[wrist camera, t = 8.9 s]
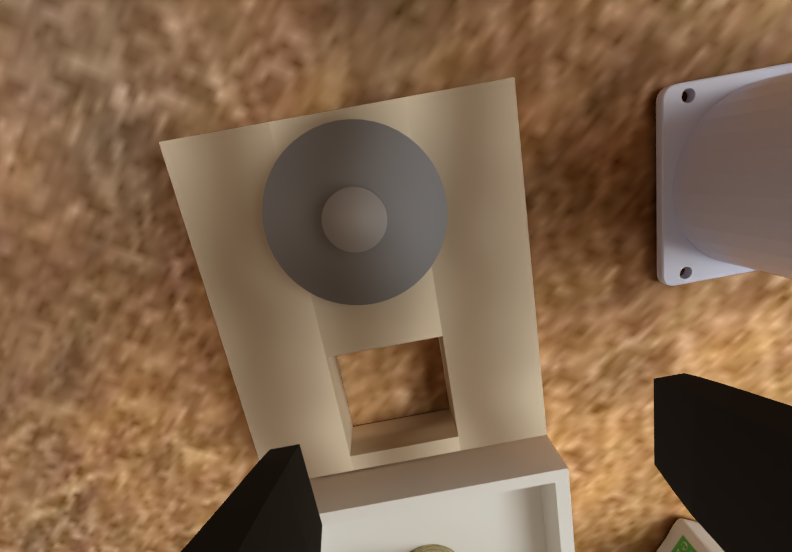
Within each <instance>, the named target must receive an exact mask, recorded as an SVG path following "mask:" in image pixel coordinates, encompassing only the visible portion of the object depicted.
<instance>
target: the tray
mask: <svg viewBox="0 0 792 552" xmlns="http://www.w3.org/2000/svg"><path fill="white" fill-rule="evenodd" d="M309 479H310V483H311V487H312V490H313V494H314V497H315V501H316V504H317V508H318V511H319V515H320V519H321V522H322V540H321V552H410V551H412V550H413V549H415V548H417V547H420V546H423V545H429V544H438V545H443V546H446V547H448V548H450V549H452V550H453V551H455V552H575V549H574V536H573V523H572V510H571V496H570V483H569V470H568V467H567V465H566V464H565V462H564V461H563V459H562V458H561V456H560V455H559V453H558V452H557V450H556V448H555V447H554V445H553V444H552V442H551V441H550V439H549V438H548V436H547V435H543V436H537V437H532V438H527V439H521V440H516V441H510V442H505V443H499V444H494V445H489V446H483V447H478V448H472V449H467V450H461V451H456V452H451V453H445V454H440V455H434V456H429V457H423V458H418V459H412V460H407V461H402V462H396V463H391V464H385V465H380V466H374V467H369V468H364V469H358V470H353V471H347V472H342V473H336V474H331V475H326V476H320V477H315V478H309Z"/></svg>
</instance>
